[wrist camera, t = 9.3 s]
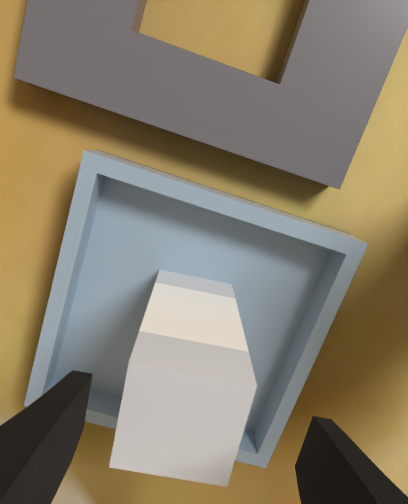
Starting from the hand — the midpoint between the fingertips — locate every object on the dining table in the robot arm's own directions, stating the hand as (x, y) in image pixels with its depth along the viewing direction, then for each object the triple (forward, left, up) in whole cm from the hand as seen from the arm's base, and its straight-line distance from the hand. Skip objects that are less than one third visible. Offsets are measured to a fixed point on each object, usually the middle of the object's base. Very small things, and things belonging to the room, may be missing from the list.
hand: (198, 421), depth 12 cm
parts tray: (0, +1, -10) cm, 10 cm away
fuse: (0, 0, -9) cm, 9 cm away
